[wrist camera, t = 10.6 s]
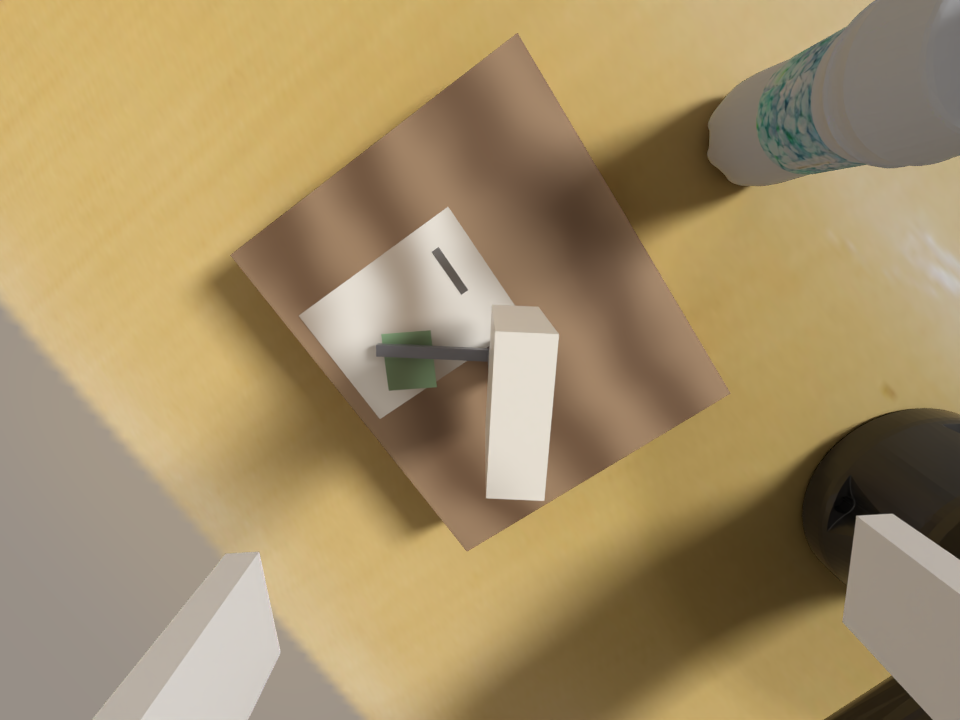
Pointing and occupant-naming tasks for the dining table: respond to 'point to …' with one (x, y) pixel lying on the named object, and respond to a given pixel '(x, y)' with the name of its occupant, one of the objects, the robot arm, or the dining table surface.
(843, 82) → the bottle
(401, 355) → the white box with rod
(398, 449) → the wooden box with sign
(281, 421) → the dining table surface
